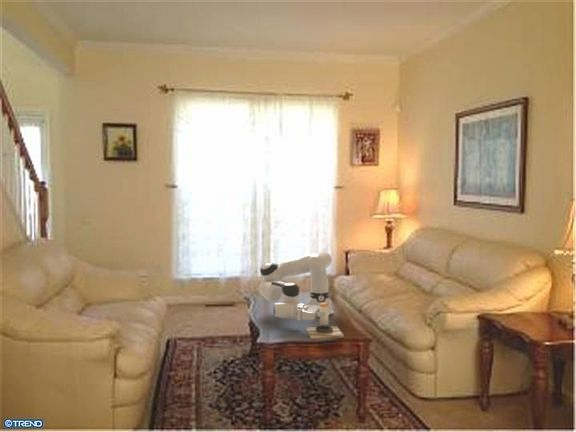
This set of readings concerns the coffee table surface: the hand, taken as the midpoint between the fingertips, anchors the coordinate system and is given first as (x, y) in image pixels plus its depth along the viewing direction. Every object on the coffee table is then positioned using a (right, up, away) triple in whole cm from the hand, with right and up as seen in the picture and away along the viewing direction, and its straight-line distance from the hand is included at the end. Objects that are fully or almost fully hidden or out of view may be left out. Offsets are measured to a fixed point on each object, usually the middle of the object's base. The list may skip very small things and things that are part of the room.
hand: (325, 312), depth 291 cm
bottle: (-1, -6, +1) cm, 6 cm away
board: (-1, -12, +1) cm, 12 cm away
